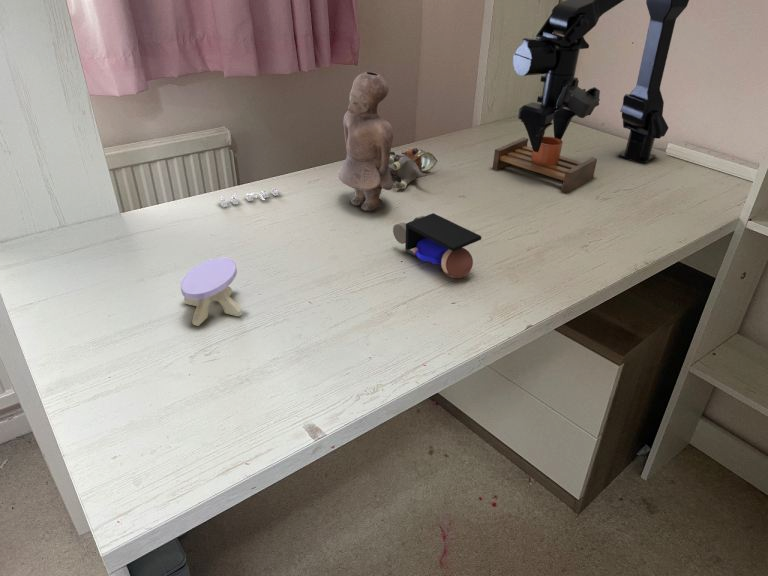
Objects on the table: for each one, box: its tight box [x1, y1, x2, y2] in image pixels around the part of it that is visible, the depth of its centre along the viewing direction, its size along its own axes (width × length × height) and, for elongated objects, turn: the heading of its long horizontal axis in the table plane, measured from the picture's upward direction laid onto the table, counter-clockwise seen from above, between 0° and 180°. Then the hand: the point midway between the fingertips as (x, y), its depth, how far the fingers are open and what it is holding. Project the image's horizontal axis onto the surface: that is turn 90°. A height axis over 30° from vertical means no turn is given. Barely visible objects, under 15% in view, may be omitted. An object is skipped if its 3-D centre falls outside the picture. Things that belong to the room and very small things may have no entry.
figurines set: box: [219, 188, 279, 208], centre depth 118 cm, size 12×3×3 cm, turn 122°
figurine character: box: [392, 212, 482, 279], centre depth 99 cm, size 7×8×15 cm
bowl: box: [532, 135, 564, 165], centre depth 133 cm, size 6×6×4 cm
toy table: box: [180, 256, 243, 327], centre depth 86 cm, size 10×9×6 cm
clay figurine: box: [337, 71, 394, 212], centre depth 112 cm, size 13×10×25 cm
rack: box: [491, 137, 598, 194], centre depth 134 cm, size 12×18×4 cm, turn 48°
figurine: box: [388, 147, 438, 190], centre depth 131 cm, size 20×6×17 cm
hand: (546, 146), depth 132 cm, fingers open, 9 cm apart
